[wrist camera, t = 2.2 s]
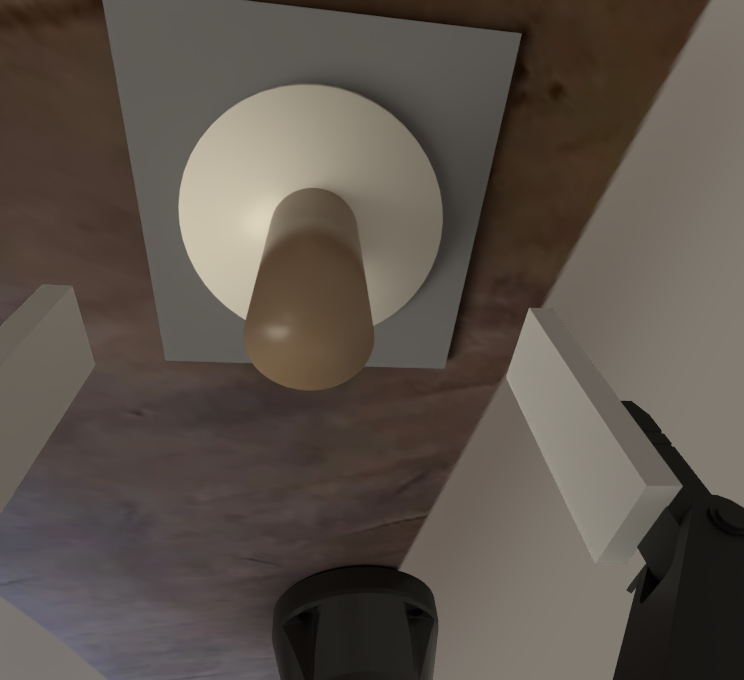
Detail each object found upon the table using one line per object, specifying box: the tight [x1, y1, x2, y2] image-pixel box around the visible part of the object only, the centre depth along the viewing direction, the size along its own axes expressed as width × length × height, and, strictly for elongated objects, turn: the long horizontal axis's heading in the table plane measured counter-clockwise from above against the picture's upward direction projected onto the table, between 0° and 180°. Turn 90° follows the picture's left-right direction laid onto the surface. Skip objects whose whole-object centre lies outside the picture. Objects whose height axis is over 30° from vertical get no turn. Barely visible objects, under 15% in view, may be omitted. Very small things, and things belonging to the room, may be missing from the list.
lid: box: [178, 83, 443, 390], centre depth 19 cm, size 12×12×10 cm
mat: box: [103, 0, 522, 369], centre depth 23 cm, size 17×16×1 cm
